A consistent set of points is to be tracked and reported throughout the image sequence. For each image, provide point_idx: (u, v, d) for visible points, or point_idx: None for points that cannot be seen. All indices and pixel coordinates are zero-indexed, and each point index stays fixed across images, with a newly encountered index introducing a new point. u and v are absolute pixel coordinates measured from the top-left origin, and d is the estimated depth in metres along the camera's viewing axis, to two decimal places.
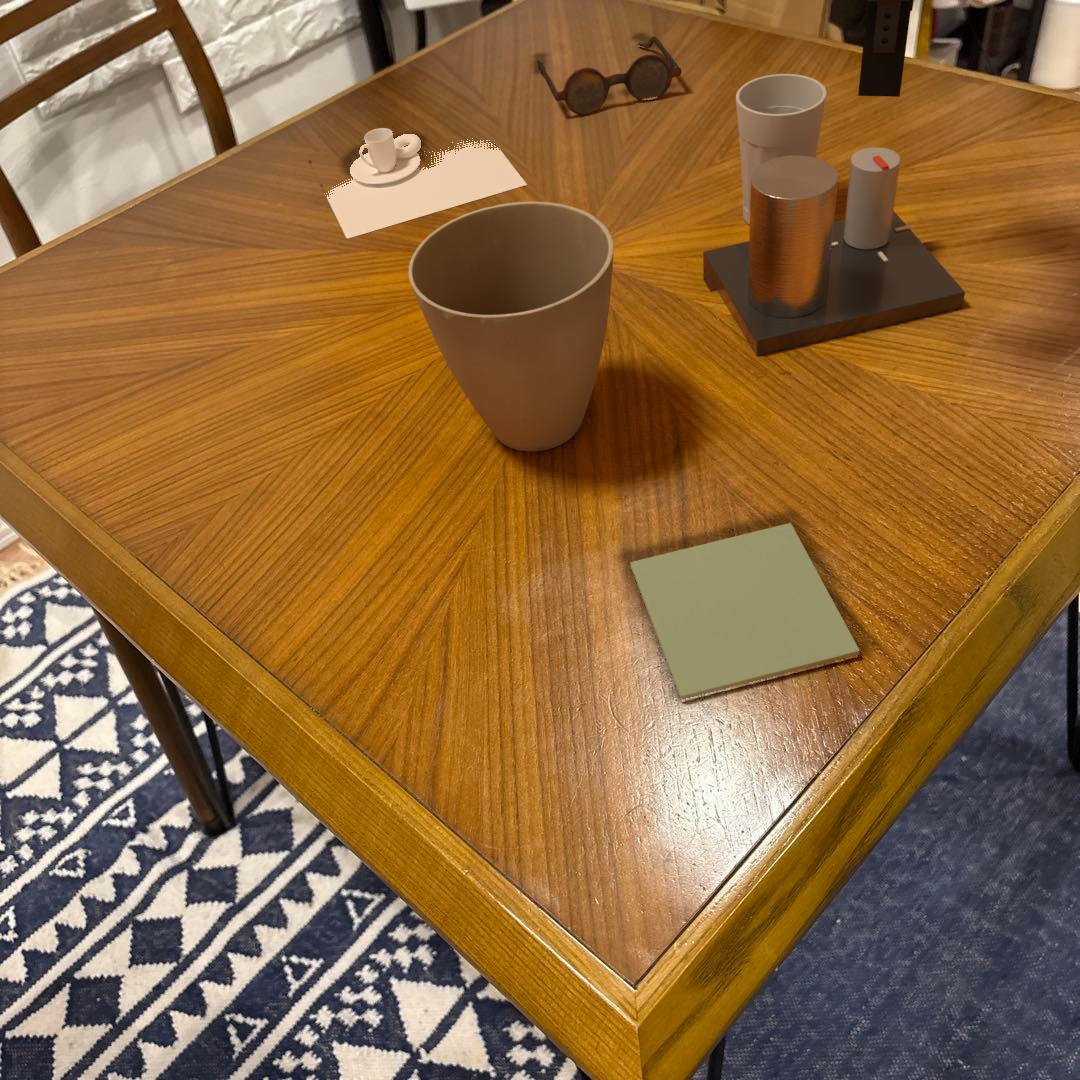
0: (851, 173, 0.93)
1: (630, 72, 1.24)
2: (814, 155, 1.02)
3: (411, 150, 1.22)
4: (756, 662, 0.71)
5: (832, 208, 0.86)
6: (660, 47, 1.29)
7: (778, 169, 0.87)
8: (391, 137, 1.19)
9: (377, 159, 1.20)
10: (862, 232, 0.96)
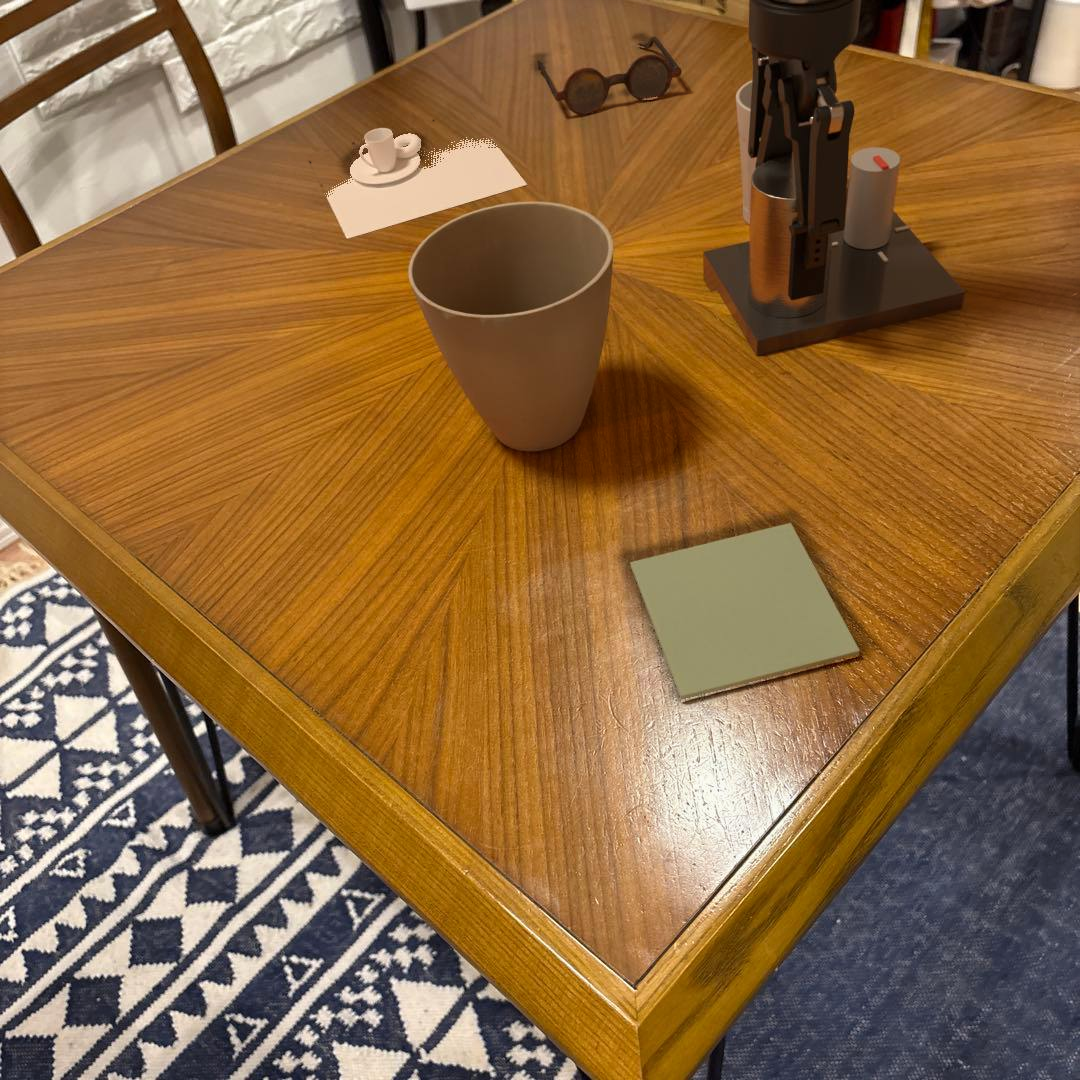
0: (851, 173, 0.93)
1: (630, 72, 1.24)
2: None
3: (411, 150, 1.22)
4: (756, 662, 0.71)
5: None
6: (660, 47, 1.29)
7: (778, 169, 0.87)
8: (391, 137, 1.19)
9: (377, 159, 1.20)
10: (862, 232, 0.96)
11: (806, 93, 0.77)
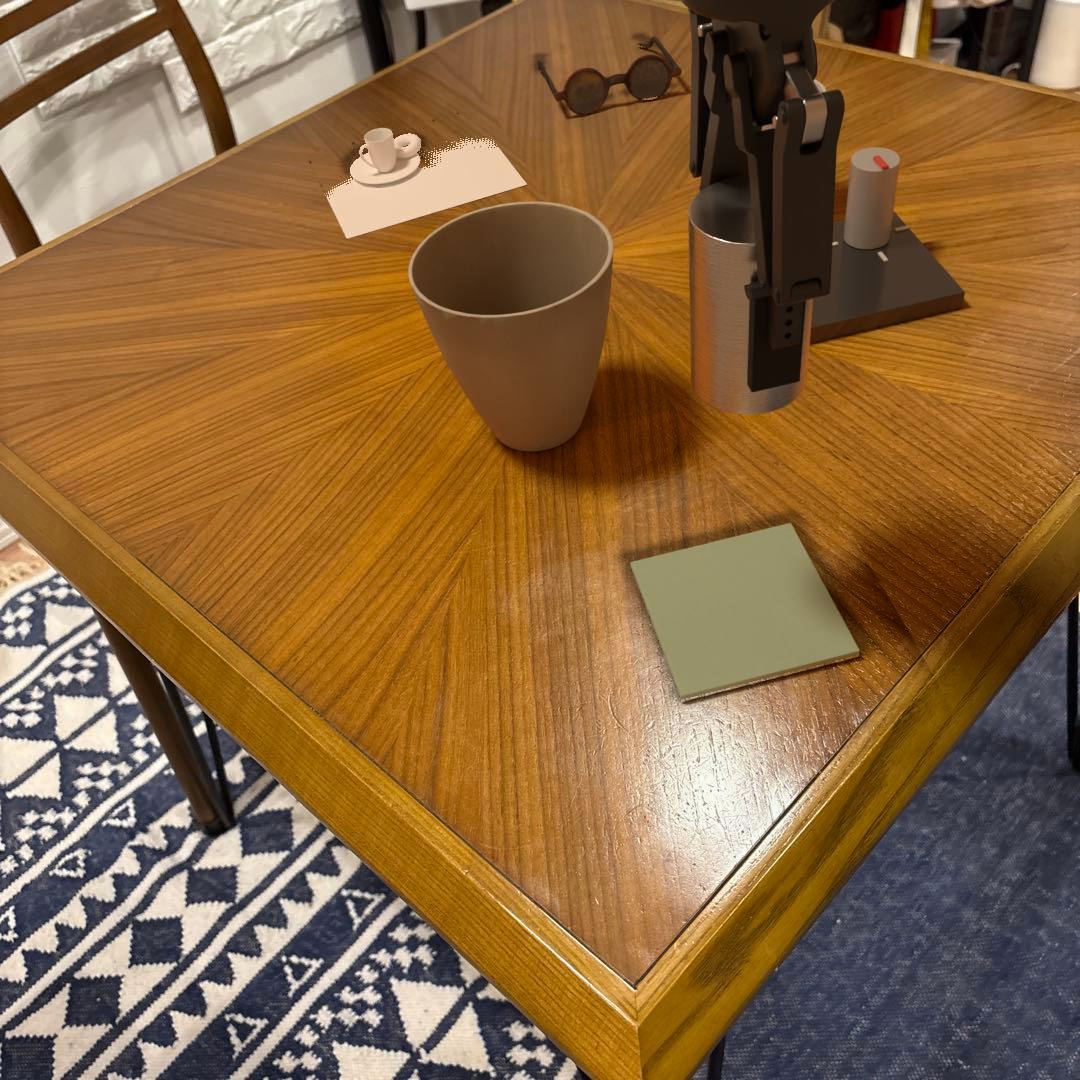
0: (851, 173, 0.93)
1: (630, 72, 1.24)
2: None
3: (411, 150, 1.22)
4: (756, 662, 0.71)
5: None
6: (660, 47, 1.29)
7: (730, 196, 0.57)
8: (391, 137, 1.19)
9: (377, 159, 1.20)
10: (862, 232, 0.96)
11: (767, 78, 0.47)
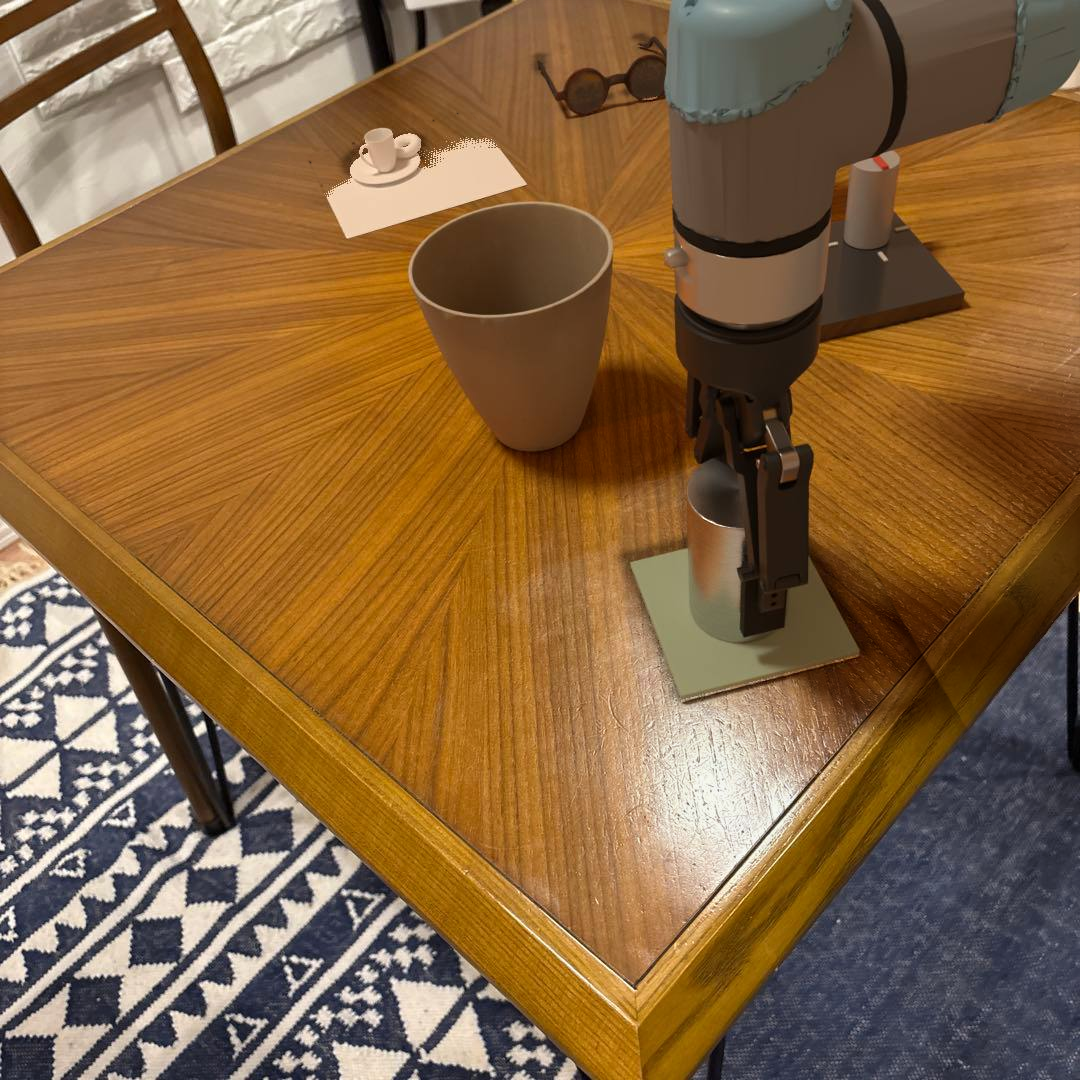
0: (851, 173, 0.93)
1: (630, 72, 1.24)
2: None
3: (411, 150, 1.22)
4: (756, 662, 0.71)
5: None
6: (660, 47, 1.29)
7: (721, 475, 0.67)
8: (391, 137, 1.19)
9: (377, 159, 1.20)
10: (862, 232, 0.96)
11: (750, 428, 0.58)
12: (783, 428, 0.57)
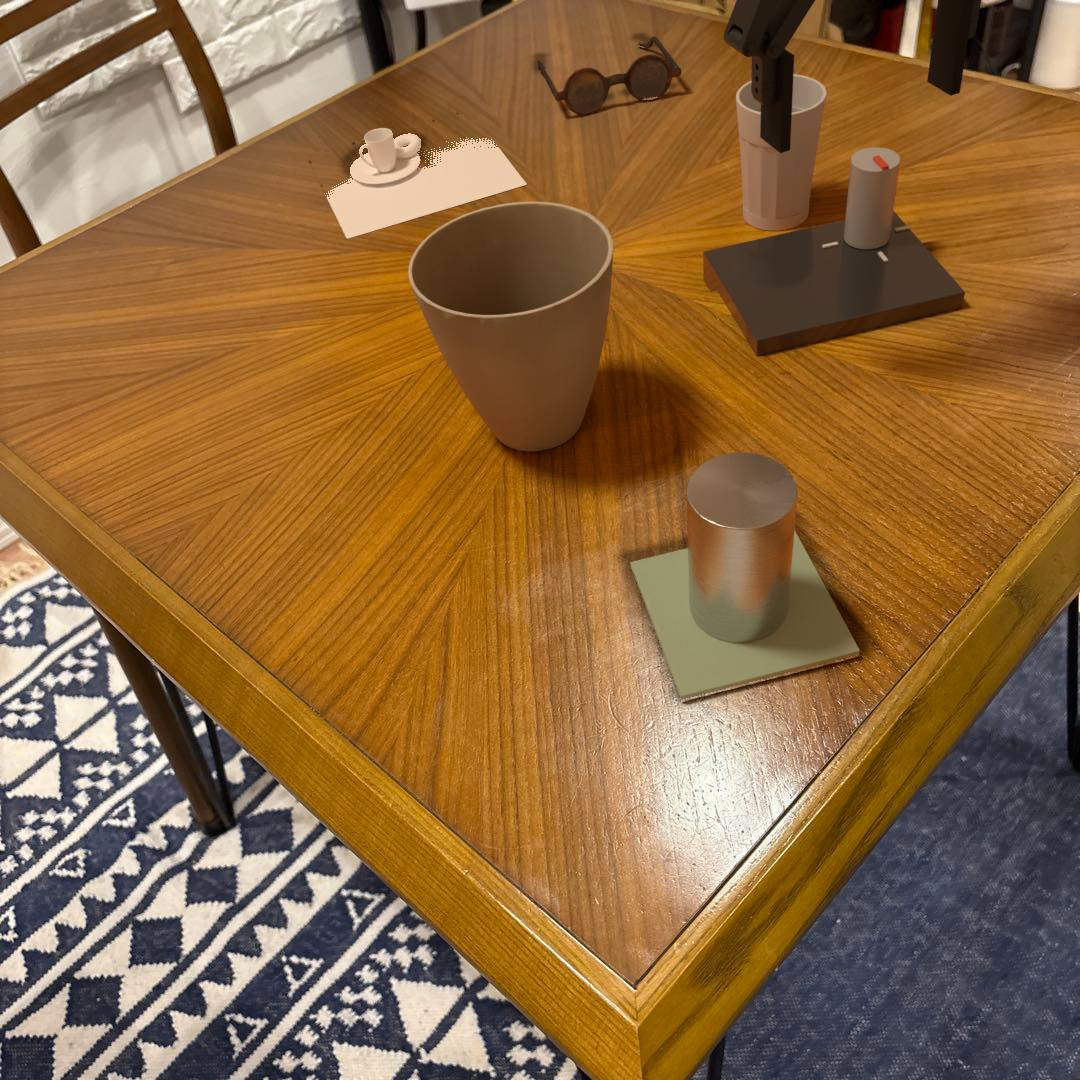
0: (851, 173, 0.93)
1: (630, 72, 1.24)
2: (814, 155, 1.02)
3: (411, 150, 1.22)
4: (756, 662, 0.71)
5: (790, 530, 0.67)
6: (660, 47, 1.29)
7: (721, 475, 0.67)
8: (391, 137, 1.19)
9: (377, 159, 1.20)
10: (862, 232, 0.96)
11: None
12: None
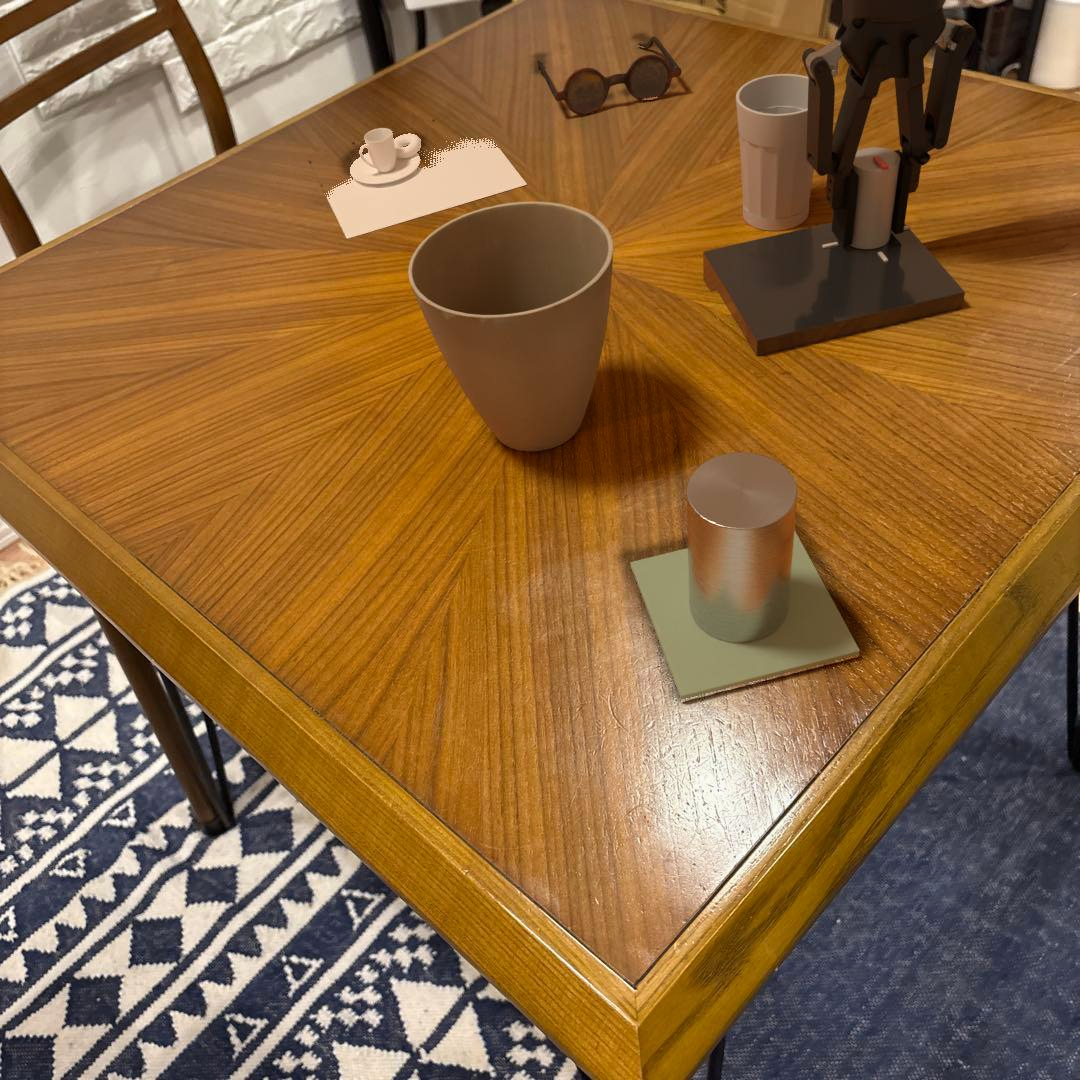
0: None
1: (630, 72, 1.24)
2: None
3: (411, 150, 1.22)
4: (756, 662, 0.71)
5: (790, 530, 0.67)
6: (660, 47, 1.29)
7: (721, 475, 0.67)
8: (391, 137, 1.19)
9: (377, 159, 1.20)
10: (862, 232, 0.96)
11: None
12: (834, 46, 0.84)
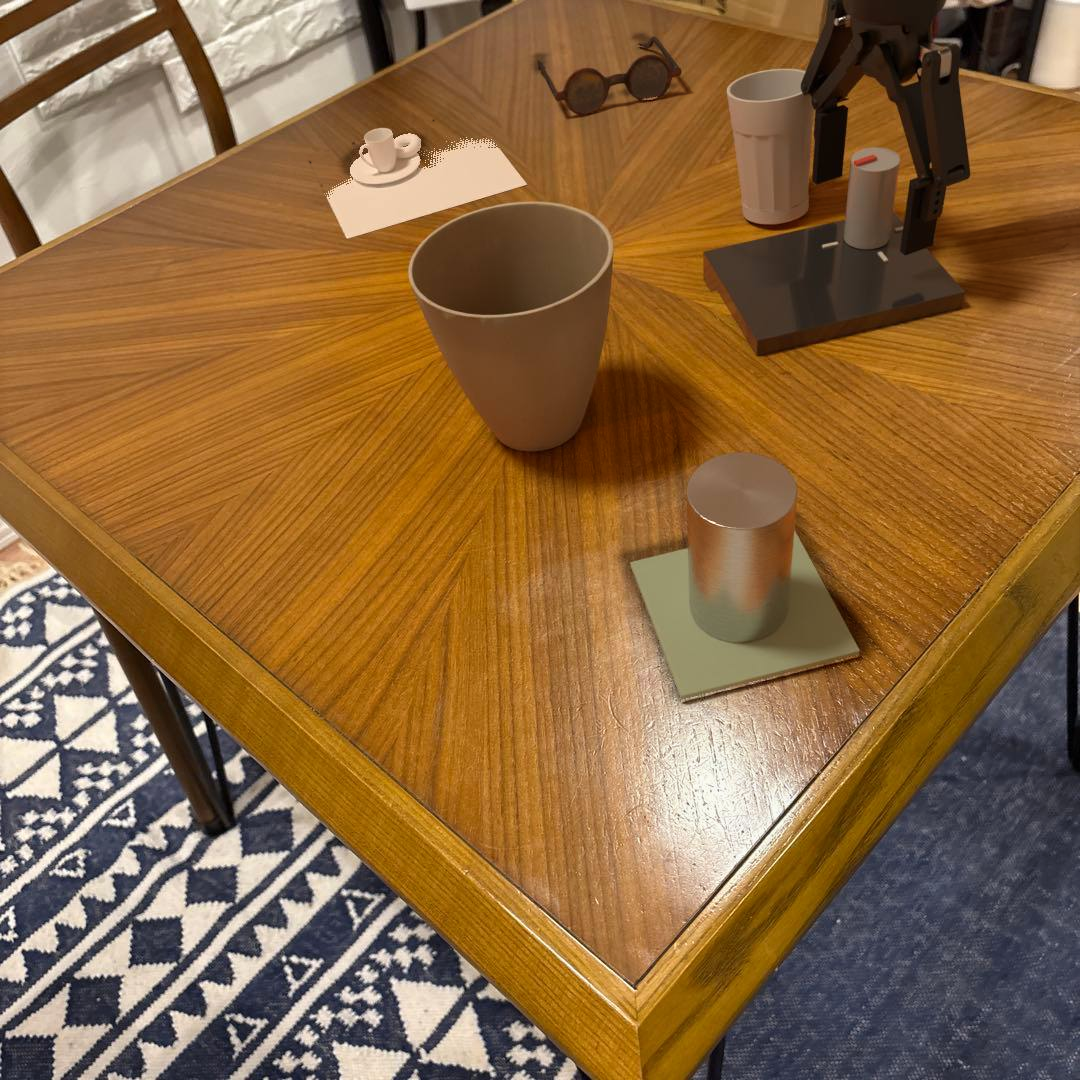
0: None
1: (630, 72, 1.24)
2: (809, 144, 1.02)
3: (411, 150, 1.22)
4: (756, 662, 0.71)
5: (790, 530, 0.67)
6: (660, 47, 1.29)
7: (721, 475, 0.67)
8: (391, 137, 1.19)
9: (377, 159, 1.20)
10: None
11: None
12: None
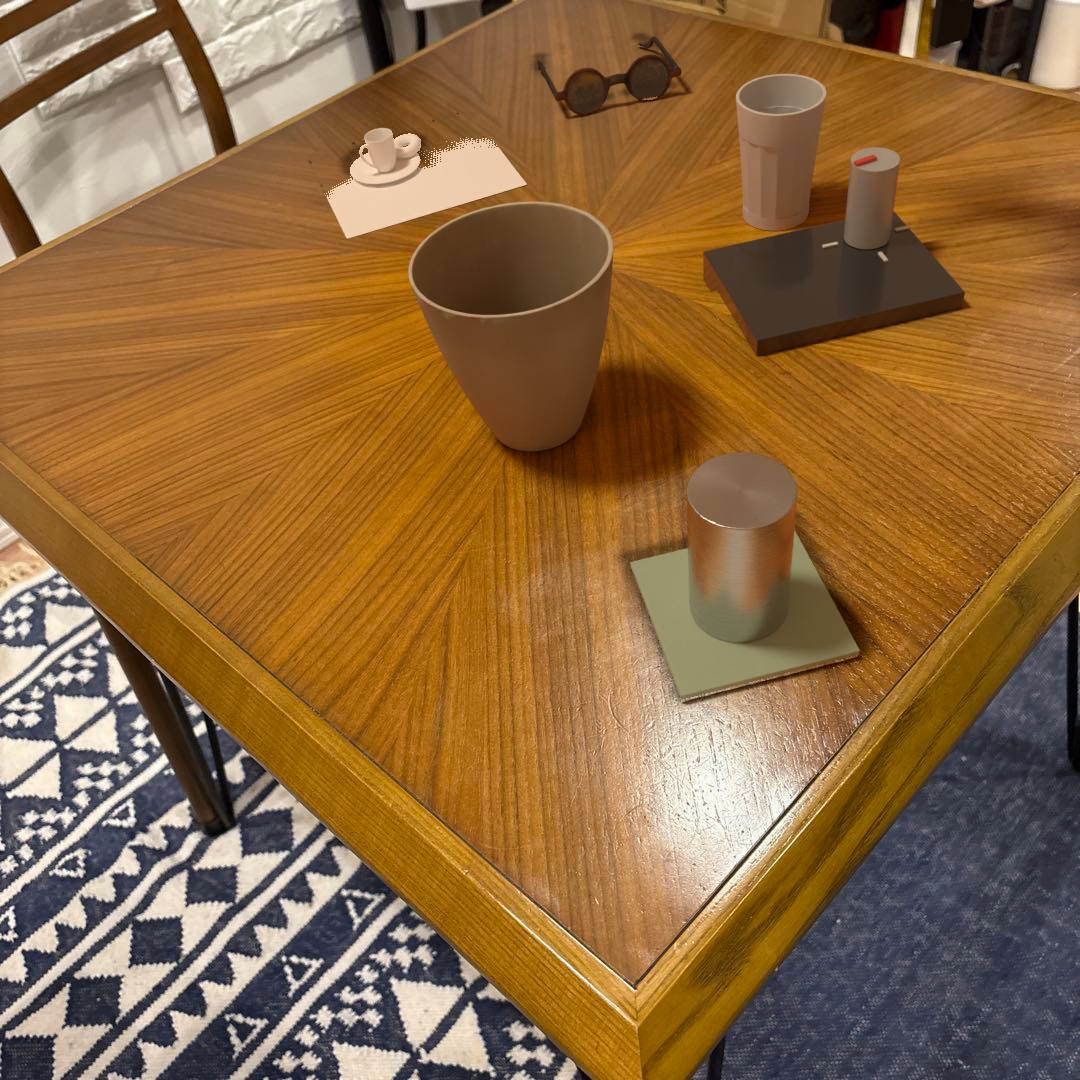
0: None
1: (630, 72, 1.24)
2: (814, 155, 1.02)
3: (411, 150, 1.22)
4: (756, 662, 0.71)
5: (790, 530, 0.67)
6: (660, 47, 1.29)
7: (721, 475, 0.67)
8: (391, 137, 1.19)
9: (377, 159, 1.20)
10: None
11: None
12: None
